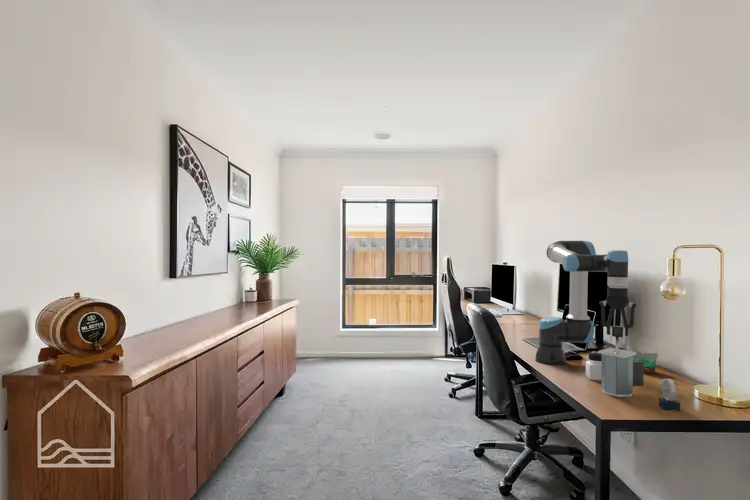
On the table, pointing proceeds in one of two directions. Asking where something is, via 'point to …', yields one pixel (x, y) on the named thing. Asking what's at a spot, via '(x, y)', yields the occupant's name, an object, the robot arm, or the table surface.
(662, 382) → the watch
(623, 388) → the press
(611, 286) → the robot arm
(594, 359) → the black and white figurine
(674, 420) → the table surface
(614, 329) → the plunger
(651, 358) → the food container
